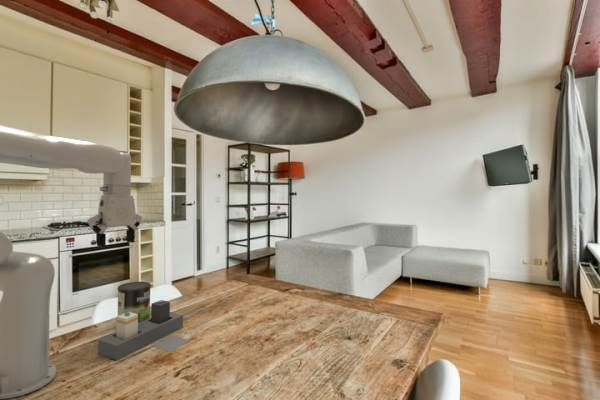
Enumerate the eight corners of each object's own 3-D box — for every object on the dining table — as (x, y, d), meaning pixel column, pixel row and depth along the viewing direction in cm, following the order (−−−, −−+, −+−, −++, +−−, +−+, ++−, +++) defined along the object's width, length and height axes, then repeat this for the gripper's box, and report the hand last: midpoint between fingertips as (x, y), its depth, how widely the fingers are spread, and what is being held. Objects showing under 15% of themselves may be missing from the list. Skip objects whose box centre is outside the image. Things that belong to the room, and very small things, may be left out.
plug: (125, 346, 88) (125, 317, 88) (115, 343, 90) (116, 314, 90) (137, 340, 92) (138, 312, 92) (128, 337, 93) (129, 309, 93)
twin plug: (159, 329, 99) (160, 303, 99) (151, 327, 101) (151, 301, 101) (169, 325, 103) (169, 300, 103) (160, 322, 104) (161, 298, 104)
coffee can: (156, 320, 111) (157, 282, 111) (135, 332, 101) (136, 291, 101) (132, 317, 113) (132, 280, 113) (109, 329, 103) (110, 288, 103)
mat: (170, 353, 89) (170, 351, 89) (151, 346, 92) (151, 345, 92) (190, 341, 96) (190, 340, 96) (172, 336, 100) (172, 334, 99)
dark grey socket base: (116, 361, 84) (116, 345, 84) (98, 354, 87) (98, 339, 87) (182, 327, 106) (182, 315, 106) (166, 323, 109) (166, 311, 109)
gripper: (96, 190, 87) (96, 249, 88) (148, 191, 103) (147, 241, 103) (81, 190, 91) (80, 246, 91) (133, 191, 106) (133, 239, 107)
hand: (116, 244), depth 97 cm, fingers open, 9 cm apart
